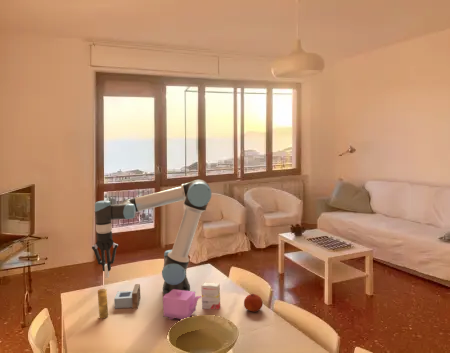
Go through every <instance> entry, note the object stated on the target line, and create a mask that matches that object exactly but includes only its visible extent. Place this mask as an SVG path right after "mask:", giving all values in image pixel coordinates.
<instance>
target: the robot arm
mask: <svg viewBox="0 0 450 353" xmlns="http://www.w3.org/2000/svg"><path fill="white" fill-rule="evenodd" d="M211 198H212V189H211V187H210V185H209V183H208V182H207V181H206V180H203V179H195V180H192V181H190V182H186V183H182V184H181V185H180V186H178V187H173V188H170V189H169V188H168V189H166V190H161V191H158V192H154V193H148V194H145V195H141V196H138V197H133V198H127V199H124V200H122V202H121V203H120V204H111V201H110V200H99V201H96V202H95V203H94V216H95V218H94V219H95V220H94V221H95V231H96V243H95V244H94V245H93V244H92V246H91V249H92V250H93V253H94V255H95V258H96V260H97V265H101V267H102V268H101V269H102V272H104V277H105V278H104V279H109V278H110V271H111V270H112V266H111V264H112V265H113V264H114V263H115V259H116V254H117V248H118V247H119V244H118V243H115V242H114V240H113V231H112V230H113V226H112V221H114V220H132V219H135V218H136V213H137V212H143V211H145V210H150V209H154V208H157V207H162V206H166V205H170V204H174V203H177V202H182V201H184V202H183V206H184V207H185V209H184V212H183V215H182V217H181V222H180V224H179V228H178V231H177V233H176V237H175V240H174V243H173V246H172V249H168V250H165V251H164V254H163V257H164V258H163V259H164V262H163V267H162V270H161V275H162V279H163V281H164V282H163V284H162V293H163V294H164V295H165V294H167V293H169V292H170V291H171V290H173V289H176V290H185V291H191V285H190V282H189V279H188V277H187V269H188V266H189V264H190V263H189V262H190V258H189V253H190V250H191V246H192V244H193V241H194V238H195V235H196V232H197V229H198V227H199V226H198V225H199V222H200V219H201V216H202V214H203V213H204V212H206V210H207V208H208V205H209V202H210V201H211ZM98 248H99V249H100V252H99V249H98ZM111 248H113V249H112V255H111ZM100 253H101V254H100Z"/></svg>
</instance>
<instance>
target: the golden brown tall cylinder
mask: <svg viewBox="0 0 450 353" xmlns="http://www.w3.org/2000/svg"><path fill="white" fill-rule="evenodd" d="M107 292H108V291H107V288H100V289H98V290H97V300H98V315H99V316H98V317H100V319H102V318H103V319H106V318H108V317H109V311H108V310H109V308H108V296H107V295H108V293H107Z"/></svg>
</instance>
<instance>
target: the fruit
mask: <svg viewBox="0 0 450 353" xmlns="http://www.w3.org/2000/svg"><path fill="white" fill-rule="evenodd" d="M263 303H264V302H263V300H262V298H261V297H260V296H259V295H258V294H255V293H250V294H249V295H247V296H246V297H245V298H244V300H243V307H244V308H245V309H246V310H247V311H249V312H252V313H253V312H254V313H255V312H258V311H260V310H261V309H262V308H263Z"/></svg>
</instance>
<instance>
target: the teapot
mask: <svg viewBox="0 0 450 353" xmlns="http://www.w3.org/2000/svg"><path fill="white" fill-rule="evenodd" d="M199 299H202V295H196V292H195V291H192V290H190V291H185V290H176V289H173V290H171V291H170V292H169V293H167V294H164V295H163V296H162V304H163V306H162V307H163V317H166V318H168V319H169V320H174V319H179V320H180V321H181V319H184V318H187V317H189V318H190V317H191V316H192V315H193V314H194V313H195V311H197V305H198V304H197V303H198V300H199Z"/></svg>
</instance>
